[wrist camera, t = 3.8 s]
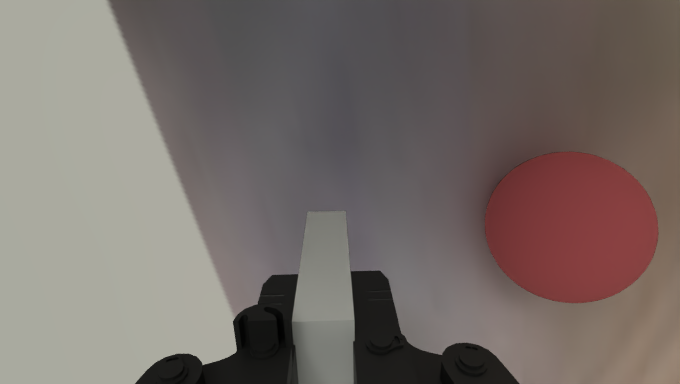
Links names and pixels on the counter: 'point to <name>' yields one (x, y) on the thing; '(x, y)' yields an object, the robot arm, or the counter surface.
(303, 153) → the counter surface
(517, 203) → the ball
